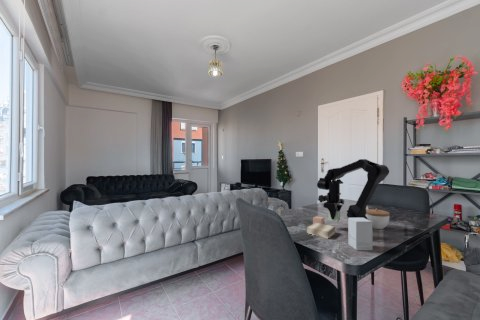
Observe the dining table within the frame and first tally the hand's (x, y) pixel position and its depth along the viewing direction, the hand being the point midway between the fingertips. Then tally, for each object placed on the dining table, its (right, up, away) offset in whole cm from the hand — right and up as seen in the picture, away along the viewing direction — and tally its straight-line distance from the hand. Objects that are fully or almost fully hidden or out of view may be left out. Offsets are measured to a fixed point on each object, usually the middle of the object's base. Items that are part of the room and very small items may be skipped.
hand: (334, 218), depth 125 cm
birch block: (-11, -6, -8) cm, 15 cm away
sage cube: (0, -1, 0) cm, 1 cm away
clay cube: (-7, -6, +6) cm, 11 cm away
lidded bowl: (+26, -6, +3) cm, 27 cm away
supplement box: (0, -6, -26) cm, 27 cm away
